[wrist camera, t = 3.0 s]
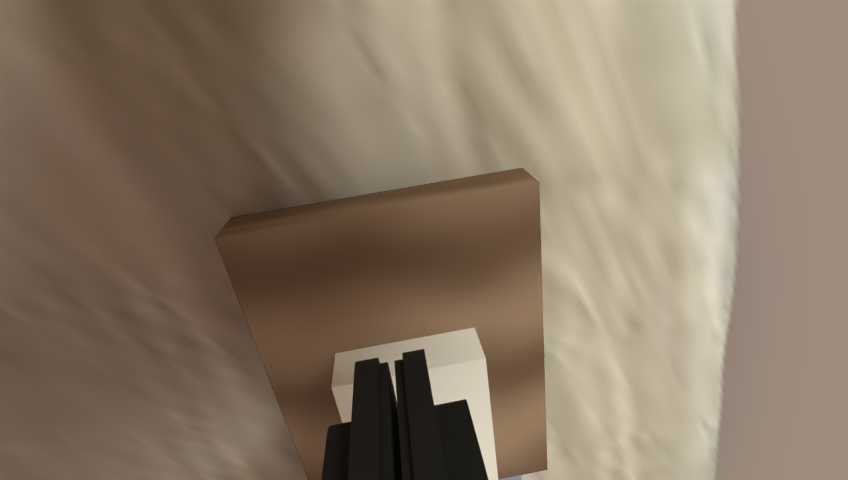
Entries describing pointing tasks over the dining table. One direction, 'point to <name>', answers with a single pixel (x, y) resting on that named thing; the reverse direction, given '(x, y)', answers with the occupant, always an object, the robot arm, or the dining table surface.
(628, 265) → the dining table surface
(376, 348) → the cream rectangular block
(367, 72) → the dining table surface
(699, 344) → the dining table surface
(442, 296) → the plate
